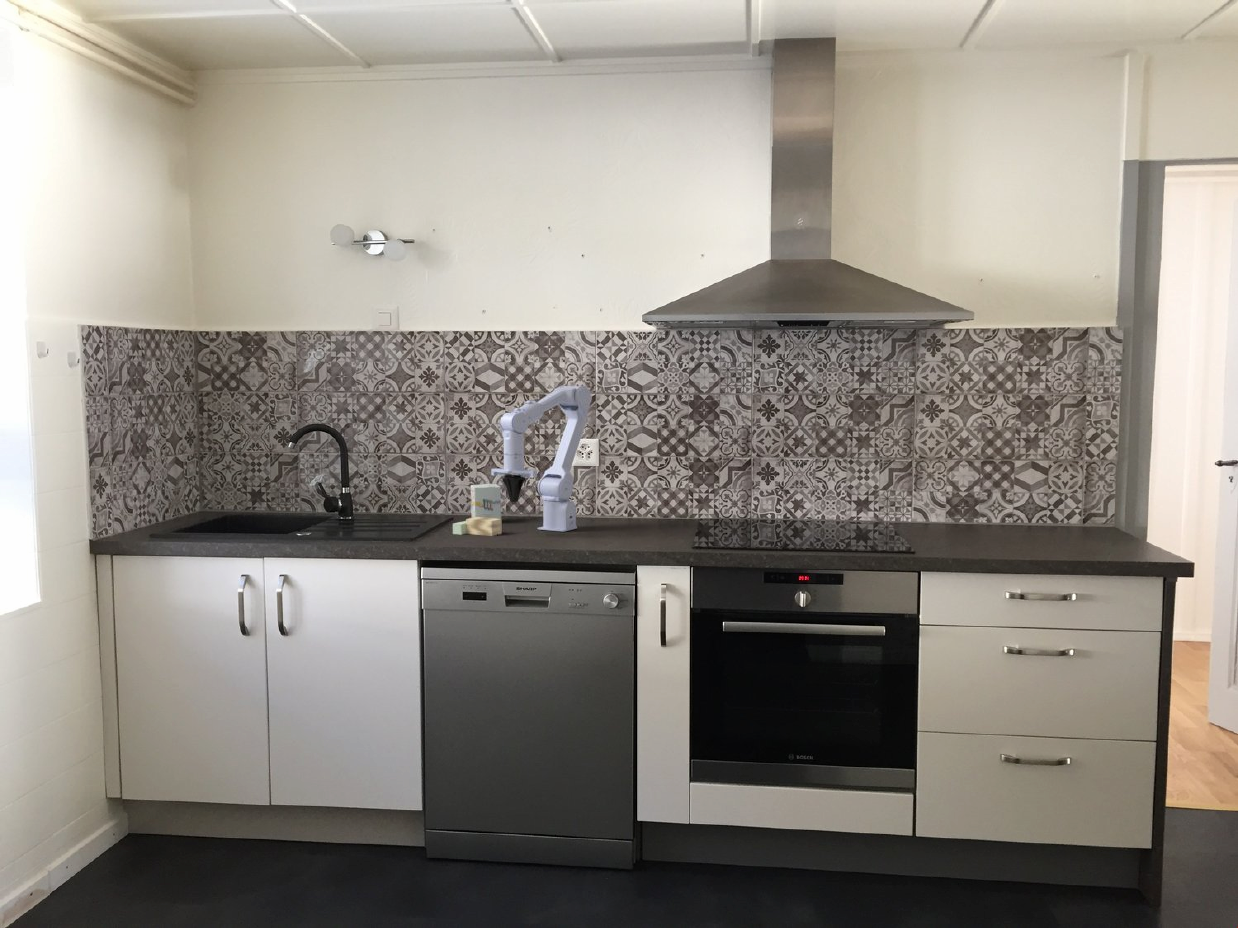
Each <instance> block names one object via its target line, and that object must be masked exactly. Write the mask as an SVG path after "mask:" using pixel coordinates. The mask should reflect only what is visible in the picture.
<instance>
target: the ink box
mask: <svg viewBox="0 0 1238 928" xmlns="http://www.w3.org/2000/svg"><path fill="white" fill-rule="evenodd" d="M501 493H502V492H501V486H500V485H498V484H496V483H482V484H471V485H470V518H474V517H483V518H495V519H502V498H501V496H502V494H501Z"/></svg>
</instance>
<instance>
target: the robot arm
mask: <svg viewBox="0 0 1238 928" xmlns="http://www.w3.org/2000/svg"><path fill="white" fill-rule="evenodd" d="M592 400H593V398H592V394H591V391H590V389H589V388H588V387H587V386H586V385H563V384H562V385H560V386H558V387H556V388H554V389H553V391H552V392H550V393H549V394H547V395H545V396H544V397H543V398H541V399H540V400H538V401H535V400H527V401H525V404H524V405H522V406H520V407H516V408H515V409H514V410H513V411H512V412H506V413H504V414H502V416H501V417H500V420H499V421H500V422H498V426H499V428H500V430H501V433H502V434H501V436H502V438H503V468H491V469H490V471H491V472H490V473H491V476H493V477H494V476H498V477H499V476H500V477H501V480H502V482H503V484H504V486H505V488H506V490H507V494H508V497H509V501H510V502H513V503H516V502H519V497H520V493H521V491H522V488H523V485H524V483H525V482H526V479H527V478H531V479H534V478H538V470H536V469H535V470H534V469H533V470H532V469H526V468H525V457H524V456H525V443H524V441H525V440H524V437H525V436H524V434H525V432H526V431H527V430H528V427H529V426H530V425H532V424H534V423H535V422H537V421H538V420H540V419H542V418H543V415H544V412H547V411H548V410H550V409H553V408H554V407H556V406H558V407H560V409H561V410H562V412H563V413H564V415H566V417H567V422H566V426H565V428H564V431H563V434H562V437H561V440H560V443H559V446H558V448H557V452H556V455H555V458H554V460H553V463H552V466H551V467H549V468H547V469H546V470H545V471H544V474H543V475H542V477H541V478H540V479H539V480H538V483H537V491H538V494H539V495H540V497H541V500H542V501H543V502H542V503H543V505H542V508H543V509H542V510H543V512H542V515H543V519H542V520H543V522H542V523H543V525H542V526H539V527H537V530H543V531H551V532H552V531H553V532H567V531H572V530H575V529H578V526H577V509H576V508H577V507H576V504H575V502H573V501H571V500H570V497H571V496H572V494H573V491H574V481H575V478H574V476H573V474H572V473H571V469H572V465H573V462H574V460H575V456H576V454H577V452H578V451H577V450H578V449H579V445H580V442H581V439H582V436H583V432H584V429H585V427H586V424H587V421H588V414H589V409H590V405H591V403H592ZM502 476H503V477H502Z"/></svg>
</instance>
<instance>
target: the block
mask: <svg viewBox="0 0 1238 928" xmlns="http://www.w3.org/2000/svg"><path fill="white" fill-rule="evenodd" d="M465 521H466V534H465V535H477V536H478V535H479V536H488V537H493V536H498V535H501V534H502V530H503V528H502V524H503V523H502V518H501V519H495V518H483V517H474V518H471V517H469V518H466V519H465ZM497 534H498V535H497Z"/></svg>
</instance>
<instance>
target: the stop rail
mask: <svg viewBox="0 0 1238 928" xmlns="http://www.w3.org/2000/svg"><path fill="white" fill-rule="evenodd" d="M452 534H453V535H460V536H461V535H467V534H466V520H464V521H458V522H455V523H452Z"/></svg>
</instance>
